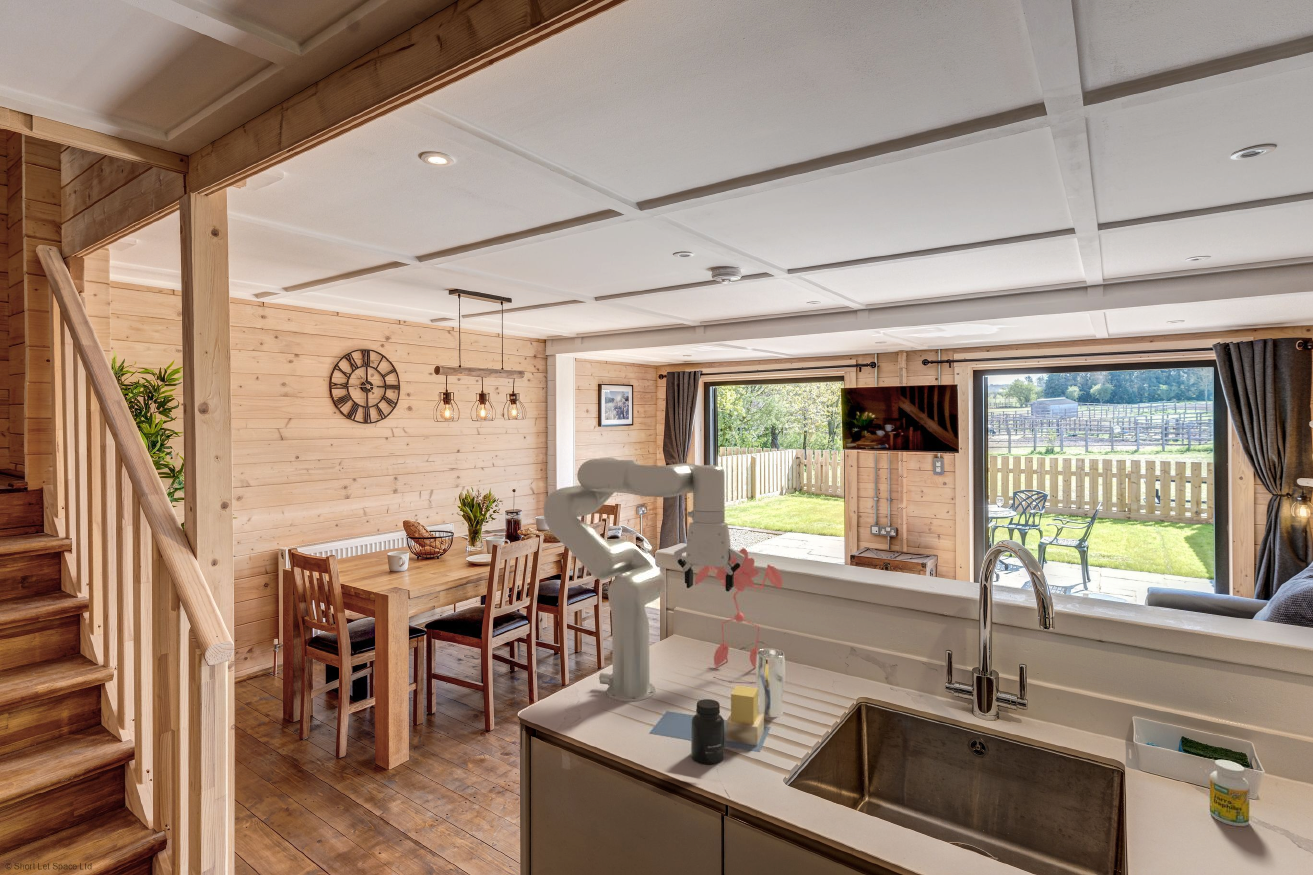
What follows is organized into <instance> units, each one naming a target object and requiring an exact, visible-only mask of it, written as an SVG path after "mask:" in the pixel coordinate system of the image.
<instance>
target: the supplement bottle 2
mask: <svg viewBox="0 0 1313 875" xmlns="http://www.w3.org/2000/svg"><path fill="white" fill-rule="evenodd" d="M1214 769H1215V770H1213V771H1212V772H1211V773H1210V775H1209V814H1210V815H1211V816H1212V817H1213V818H1214V819H1215V820H1218V821H1219V822H1222V823H1223V824H1226V825H1229V826H1234V827H1246V826H1248V825H1249V823H1250V789H1251V788H1250V783H1249V782H1248V780H1247V779H1246V778H1245V775H1246V774H1245V767H1244V766H1242V765H1241V764H1240V763H1237V762H1234V761H1231V760H1226V759H1217V760H1215V761H1214Z"/></svg>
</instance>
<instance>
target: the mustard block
mask: <svg viewBox="0 0 1313 875" xmlns="http://www.w3.org/2000/svg"><path fill="white" fill-rule="evenodd" d="M730 693H731V694H730V714H731V721H734V722H740V723H747V724H753V725H754V723H755V721H756V719H757V716H758V708H759V691H758V687H750V686H744V685H743V686H742V685H735V687H734V688H733V690H732V692H730Z"/></svg>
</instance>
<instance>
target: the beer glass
mask: <svg viewBox="0 0 1313 875" xmlns="http://www.w3.org/2000/svg"><path fill="white" fill-rule="evenodd" d="M755 677H756V678H755V680H756V686H757V688H758V713H763V714H764V717H766V718H778V717H781V716H782V715H784V710H783V701H782V700H783V699H782V698H783V693H784V686H785V681H786V659H785V652H784V651H783V650H780V649H777V648H770V647H768V648H767V647H766V648H760V649H759V650H758V651H757V658H756V669H755Z"/></svg>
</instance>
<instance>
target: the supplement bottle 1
mask: <svg viewBox="0 0 1313 875" xmlns="http://www.w3.org/2000/svg"><path fill="white" fill-rule="evenodd" d="M720 710H721V708H720V702H718V701H717V700H715V699H711V698H710V699H709V698H708V699H707V698H705V699H700V700H698V701H697V702H696V708H695V714H693V715H694V716H693V718H692V727H691V740H690V743H691V746H690V747H691V748H690V749H691V750H690V751H691V752H690V753H691V754H690V757H691V758H690V759H691V760H692V761H693V762H695V763H696V764H699V765H702V766H704V765H705V766H715V765H718V764H720V763H722V762H723V760H724V758H725V746H724V720H725V719H724V718H723V716H722V715H721V714H720V713H721V711H720Z"/></svg>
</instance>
